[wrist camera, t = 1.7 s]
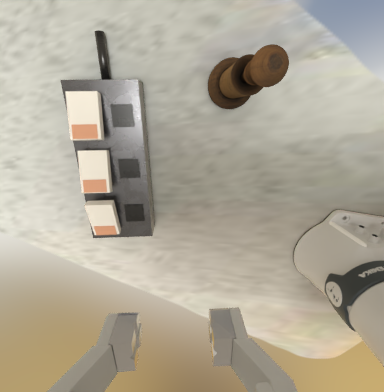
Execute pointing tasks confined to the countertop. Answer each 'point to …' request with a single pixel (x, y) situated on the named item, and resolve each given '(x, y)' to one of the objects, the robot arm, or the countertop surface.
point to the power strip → (121, 146)
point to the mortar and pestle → (246, 76)
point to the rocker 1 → (85, 115)
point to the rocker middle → (95, 171)
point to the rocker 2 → (103, 217)
